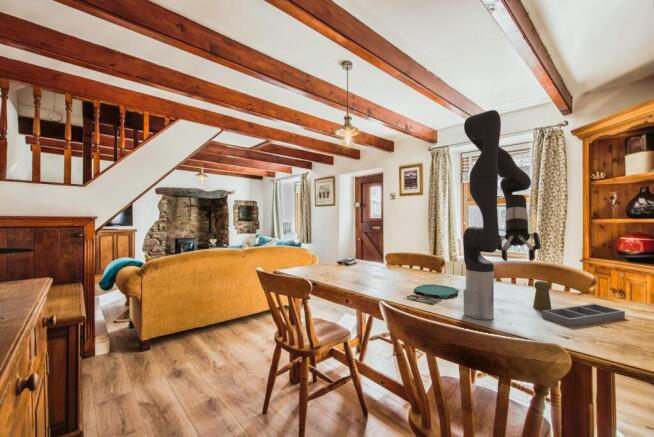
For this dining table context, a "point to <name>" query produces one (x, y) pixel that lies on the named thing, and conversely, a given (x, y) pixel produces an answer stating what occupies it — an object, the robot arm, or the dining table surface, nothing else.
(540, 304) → the cork
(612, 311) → the frame
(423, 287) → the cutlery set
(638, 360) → the dining table surface
